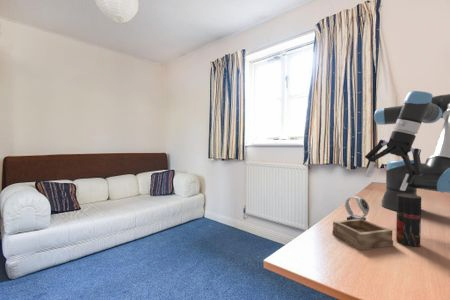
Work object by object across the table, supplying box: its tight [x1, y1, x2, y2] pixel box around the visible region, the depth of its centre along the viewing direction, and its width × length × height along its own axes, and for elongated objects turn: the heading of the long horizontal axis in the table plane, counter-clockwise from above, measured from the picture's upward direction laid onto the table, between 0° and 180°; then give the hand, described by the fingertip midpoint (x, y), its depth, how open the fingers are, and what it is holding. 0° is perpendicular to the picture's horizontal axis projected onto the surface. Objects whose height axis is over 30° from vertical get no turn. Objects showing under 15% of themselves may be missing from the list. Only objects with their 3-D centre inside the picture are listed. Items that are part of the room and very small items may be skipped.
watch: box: [344, 195, 370, 221], centre depth 86 cm, size 6×8×11 cm
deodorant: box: [395, 194, 422, 248], centre depth 71 cm, size 6×6×15 cm
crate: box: [331, 219, 394, 251], centre depth 74 cm, size 12×12×4 cm
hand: (383, 182), depth 92 cm, fingers open, 13 cm apart
